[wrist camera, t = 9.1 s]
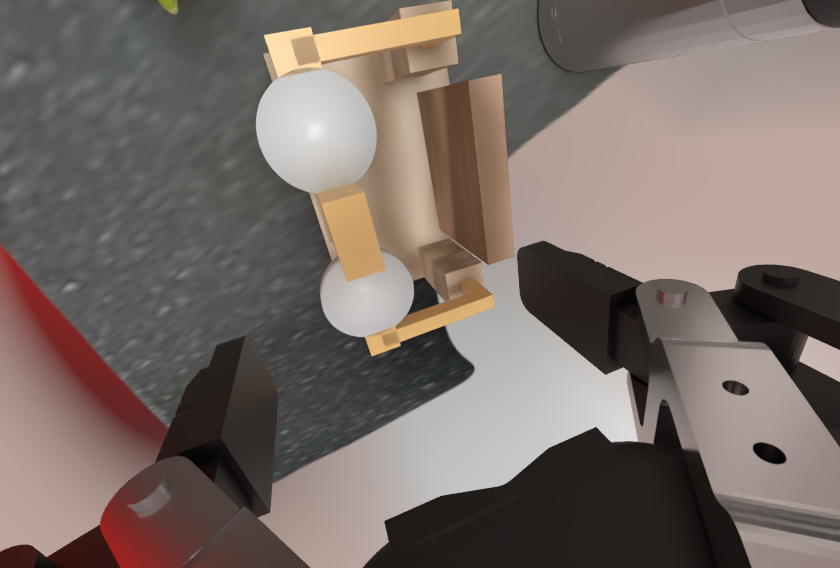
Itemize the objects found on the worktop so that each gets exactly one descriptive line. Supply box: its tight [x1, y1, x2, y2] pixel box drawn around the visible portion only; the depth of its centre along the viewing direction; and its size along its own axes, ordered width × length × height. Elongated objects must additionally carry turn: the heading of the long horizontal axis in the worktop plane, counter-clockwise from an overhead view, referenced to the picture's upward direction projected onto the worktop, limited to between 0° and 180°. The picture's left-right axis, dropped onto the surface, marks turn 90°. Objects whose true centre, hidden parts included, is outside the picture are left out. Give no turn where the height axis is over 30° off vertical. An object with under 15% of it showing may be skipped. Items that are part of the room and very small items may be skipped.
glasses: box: [256, 9, 494, 356], centre depth 20 cm, size 11×18×6 cm, turn 12°
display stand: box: [263, 0, 514, 302], centre depth 25 cm, size 12×19×10 cm, turn 12°
